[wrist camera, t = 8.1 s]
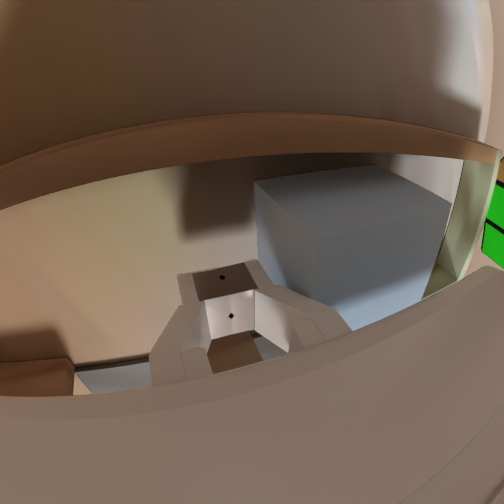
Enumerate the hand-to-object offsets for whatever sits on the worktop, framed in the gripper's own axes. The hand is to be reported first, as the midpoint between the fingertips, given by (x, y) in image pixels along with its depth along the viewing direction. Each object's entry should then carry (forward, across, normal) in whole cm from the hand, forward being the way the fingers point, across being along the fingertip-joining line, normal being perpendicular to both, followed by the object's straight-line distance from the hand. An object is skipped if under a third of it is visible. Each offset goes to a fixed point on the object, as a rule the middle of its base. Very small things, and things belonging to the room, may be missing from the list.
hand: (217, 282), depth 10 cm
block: (+2, -5, 0) cm, 5 cm away
